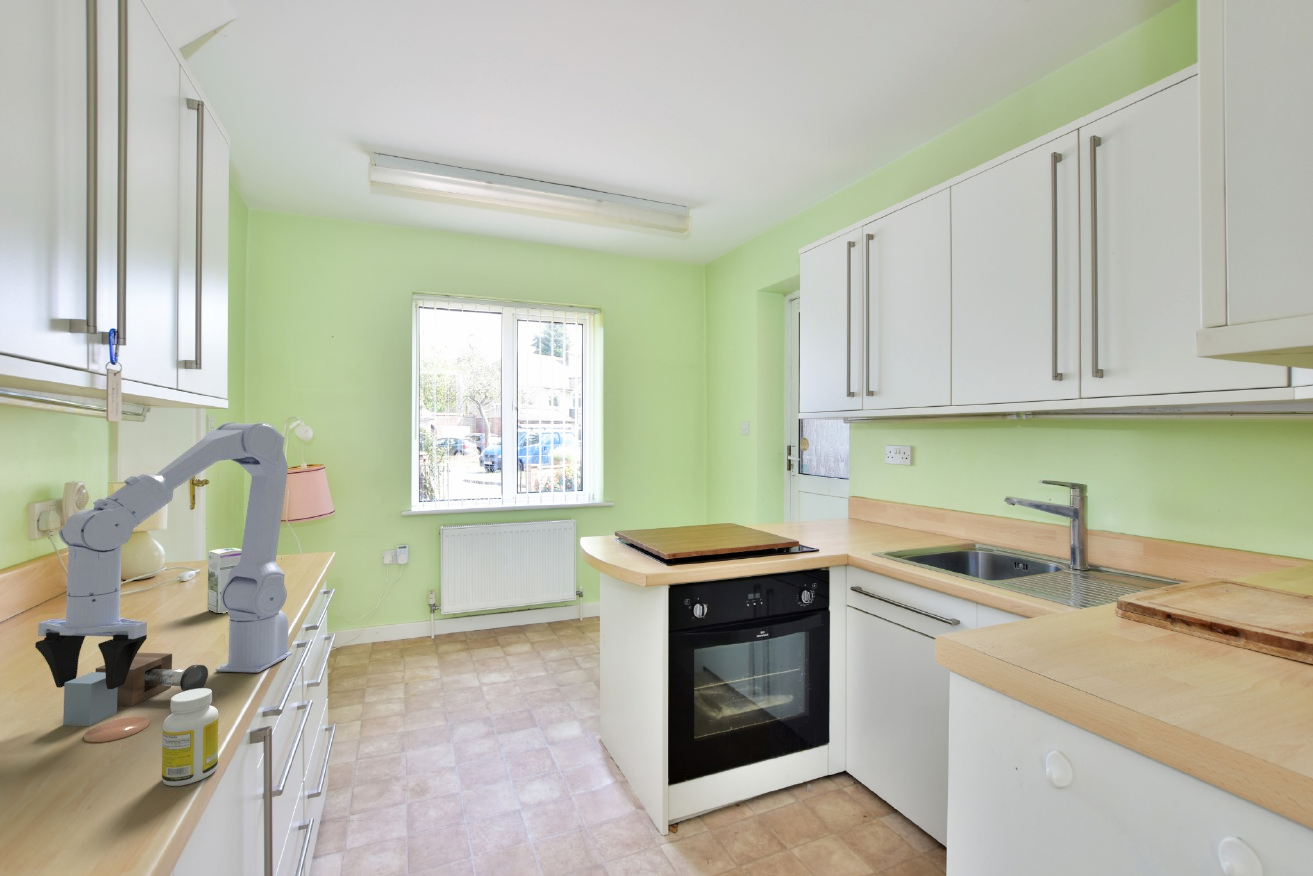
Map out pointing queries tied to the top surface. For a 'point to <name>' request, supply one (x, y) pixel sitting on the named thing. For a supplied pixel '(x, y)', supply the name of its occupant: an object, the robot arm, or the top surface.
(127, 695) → the rod housing
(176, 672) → the rod
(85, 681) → the block
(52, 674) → the robot arm
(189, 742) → the supplement bottle
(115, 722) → the plate
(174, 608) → the top surface
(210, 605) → the syrup box
